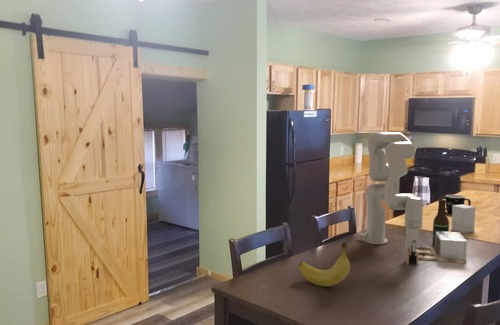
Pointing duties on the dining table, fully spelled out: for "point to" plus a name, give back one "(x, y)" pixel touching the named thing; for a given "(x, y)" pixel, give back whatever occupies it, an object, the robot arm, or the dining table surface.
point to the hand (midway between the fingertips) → (412, 261)
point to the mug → (454, 201)
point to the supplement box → (463, 218)
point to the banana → (327, 271)
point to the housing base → (434, 255)
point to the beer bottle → (440, 220)
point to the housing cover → (451, 245)
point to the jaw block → (409, 254)
